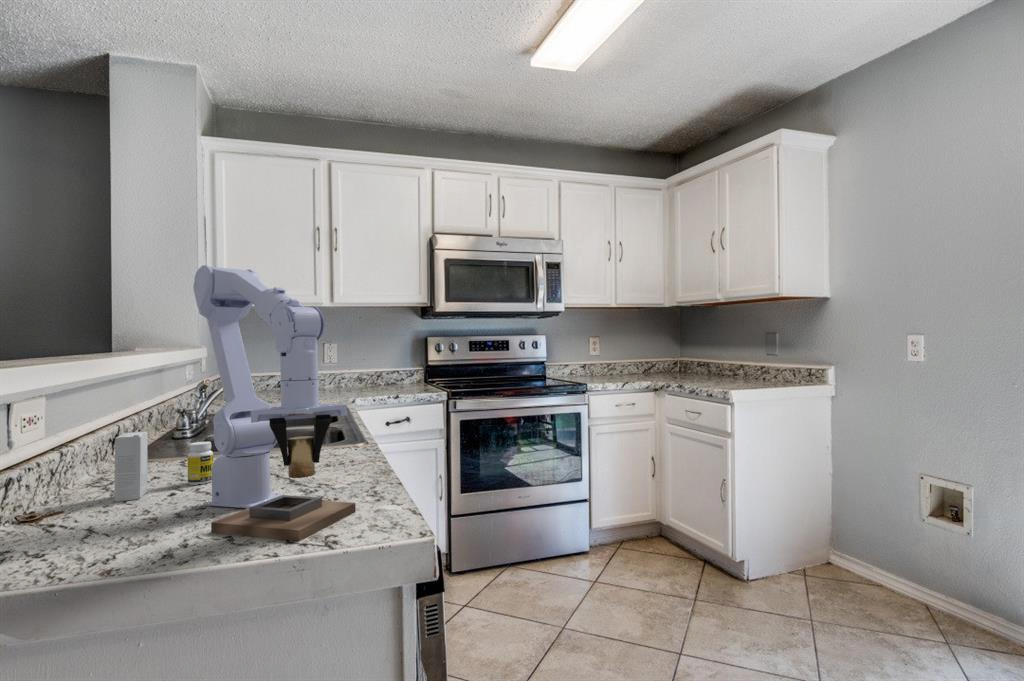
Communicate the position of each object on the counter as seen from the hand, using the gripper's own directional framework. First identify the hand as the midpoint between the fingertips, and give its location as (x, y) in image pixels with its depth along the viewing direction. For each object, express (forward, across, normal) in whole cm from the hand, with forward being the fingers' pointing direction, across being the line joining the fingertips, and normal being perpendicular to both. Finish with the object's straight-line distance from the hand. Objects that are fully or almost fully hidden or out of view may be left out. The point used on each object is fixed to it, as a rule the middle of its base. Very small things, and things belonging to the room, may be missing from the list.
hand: (301, 463), depth 89 cm
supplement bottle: (+9, -19, +37) cm, 42 cm away
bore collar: (+7, -2, -1) cm, 8 cm away
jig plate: (+9, -2, -1) cm, 9 cm away
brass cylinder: (+2, 0, 0) cm, 2 cm away
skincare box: (+9, -30, +30) cm, 43 cm away
